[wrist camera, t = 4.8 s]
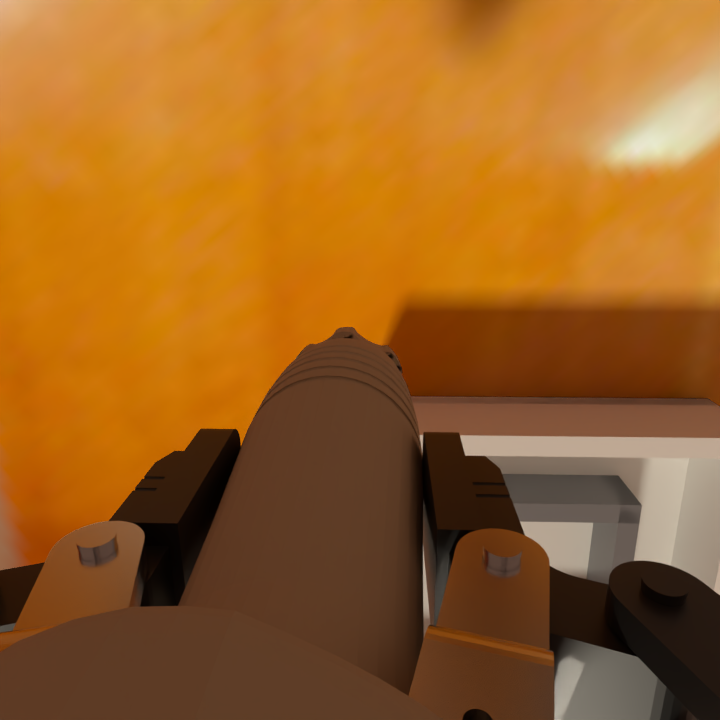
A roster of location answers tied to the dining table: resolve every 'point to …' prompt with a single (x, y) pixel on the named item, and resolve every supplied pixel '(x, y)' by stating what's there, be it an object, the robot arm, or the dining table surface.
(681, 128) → the dining table surface
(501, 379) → the dining table surface
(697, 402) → the box
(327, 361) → the handle
